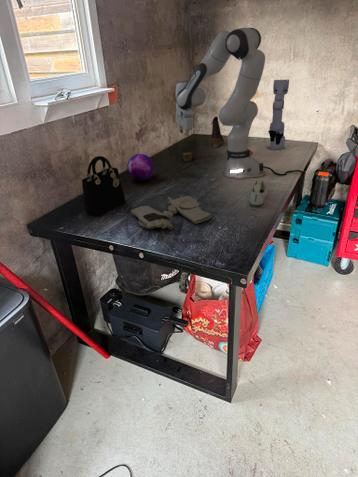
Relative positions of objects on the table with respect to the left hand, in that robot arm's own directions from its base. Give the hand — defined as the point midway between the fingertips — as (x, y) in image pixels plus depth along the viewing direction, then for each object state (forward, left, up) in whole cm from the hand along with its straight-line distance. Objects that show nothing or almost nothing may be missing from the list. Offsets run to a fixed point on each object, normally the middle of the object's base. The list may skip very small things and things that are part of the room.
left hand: (184, 134), depth 202 cm
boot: (-26, -46, -19) cm, 56 cm away
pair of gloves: (+9, +75, -19) cm, 78 cm away
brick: (-2, -9, -19) cm, 21 cm away
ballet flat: (-34, +59, -19) cm, 71 cm away
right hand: (-59, -8, -10) cm, 60 cm away
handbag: (+40, +61, -19) cm, 76 cm away
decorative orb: (+26, +25, -19) cm, 41 cm away
